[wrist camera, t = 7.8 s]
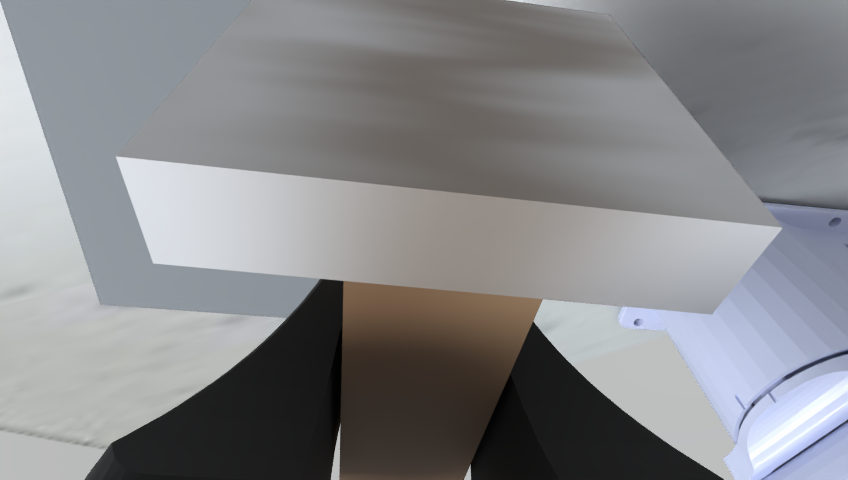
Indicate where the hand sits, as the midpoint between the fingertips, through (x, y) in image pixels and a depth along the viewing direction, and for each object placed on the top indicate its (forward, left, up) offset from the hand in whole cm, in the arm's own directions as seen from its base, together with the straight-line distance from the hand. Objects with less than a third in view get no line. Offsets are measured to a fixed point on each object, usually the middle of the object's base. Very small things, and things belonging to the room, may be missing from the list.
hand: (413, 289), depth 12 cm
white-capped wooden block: (0, -1, -3) cm, 3 cm away
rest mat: (+8, +2, -10) cm, 13 cm away
